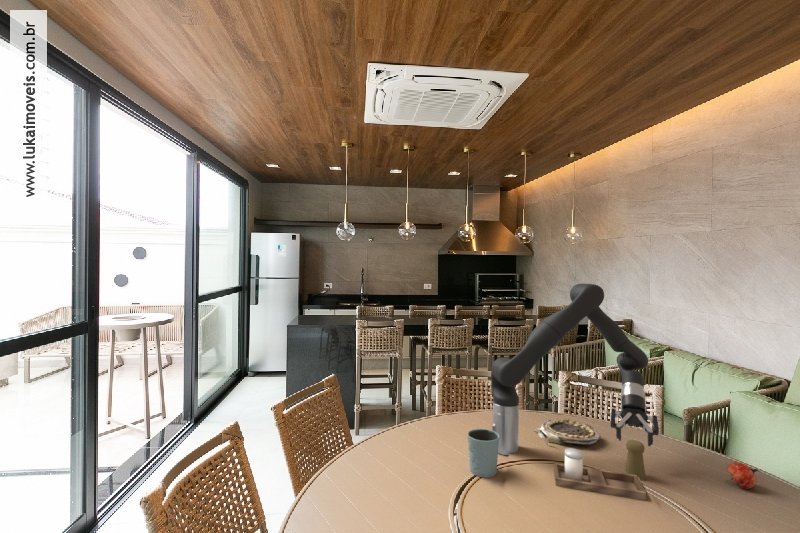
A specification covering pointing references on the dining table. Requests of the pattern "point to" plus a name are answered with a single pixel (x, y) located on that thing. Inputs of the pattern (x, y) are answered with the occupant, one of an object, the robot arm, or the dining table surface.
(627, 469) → the olive mushroom knob
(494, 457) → the teal cup
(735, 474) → the pomegranate
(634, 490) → the cruet caddy
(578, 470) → the salt shaker
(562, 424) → the pie
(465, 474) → the dining table surface
